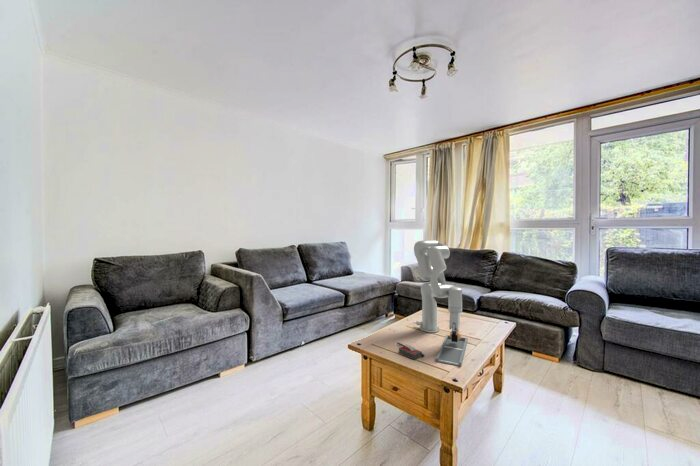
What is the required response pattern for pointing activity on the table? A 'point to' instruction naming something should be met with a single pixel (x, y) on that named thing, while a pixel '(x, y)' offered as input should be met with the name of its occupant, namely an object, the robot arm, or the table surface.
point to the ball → (457, 335)
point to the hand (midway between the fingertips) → (455, 339)
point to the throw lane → (452, 351)
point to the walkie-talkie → (410, 351)
